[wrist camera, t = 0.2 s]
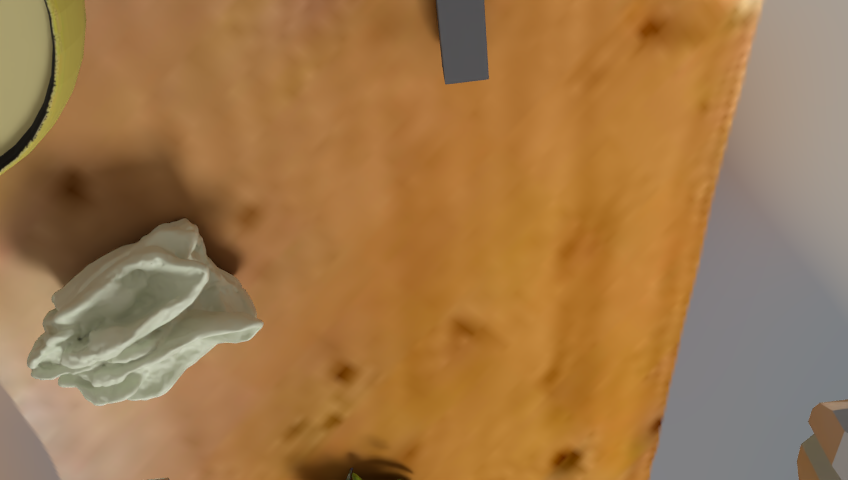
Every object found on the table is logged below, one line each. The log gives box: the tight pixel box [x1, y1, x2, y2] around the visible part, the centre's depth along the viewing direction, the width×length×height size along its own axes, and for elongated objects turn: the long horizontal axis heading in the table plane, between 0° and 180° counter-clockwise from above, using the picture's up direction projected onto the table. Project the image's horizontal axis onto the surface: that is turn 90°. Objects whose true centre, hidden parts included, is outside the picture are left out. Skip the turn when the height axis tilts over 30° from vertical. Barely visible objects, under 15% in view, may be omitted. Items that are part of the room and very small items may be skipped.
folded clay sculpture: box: [27, 218, 263, 406], centre depth 64 cm, size 18×13×16 cm
